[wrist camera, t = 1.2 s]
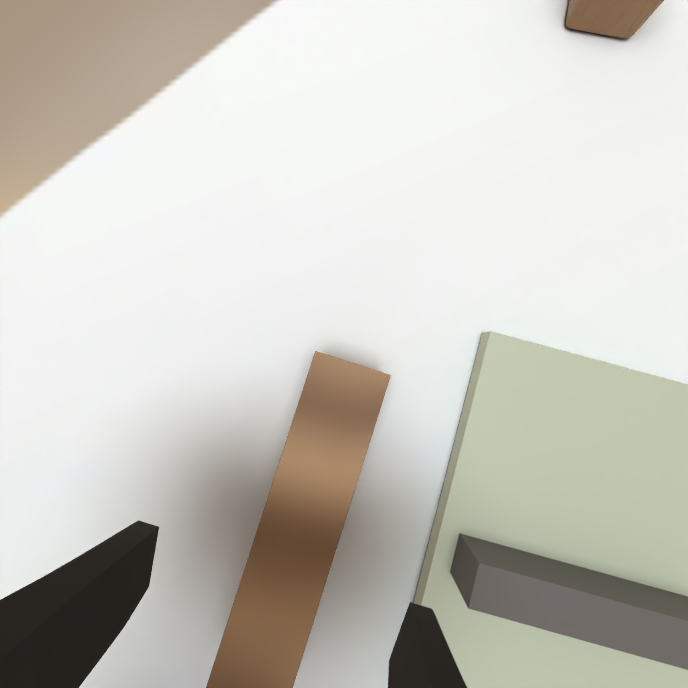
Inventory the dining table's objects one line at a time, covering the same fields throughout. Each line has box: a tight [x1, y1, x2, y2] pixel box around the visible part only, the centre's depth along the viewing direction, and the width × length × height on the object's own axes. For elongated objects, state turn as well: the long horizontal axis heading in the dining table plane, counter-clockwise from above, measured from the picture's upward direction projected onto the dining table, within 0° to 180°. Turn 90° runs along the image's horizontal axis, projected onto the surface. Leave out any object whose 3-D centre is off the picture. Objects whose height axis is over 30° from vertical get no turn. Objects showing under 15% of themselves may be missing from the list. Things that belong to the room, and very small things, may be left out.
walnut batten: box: [206, 351, 391, 688], centre depth 18 cm, size 16×3×5 cm, turn 162°
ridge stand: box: [413, 332, 688, 688], centre depth 18 cm, size 23×14×4 cm, turn 165°
